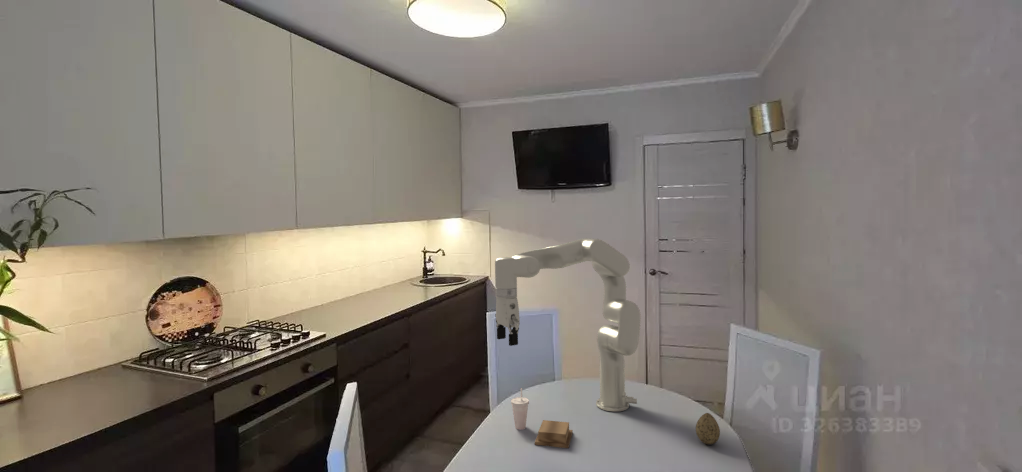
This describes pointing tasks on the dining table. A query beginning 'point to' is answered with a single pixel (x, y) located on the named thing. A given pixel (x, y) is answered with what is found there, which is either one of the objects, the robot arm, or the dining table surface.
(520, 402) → the smoothie
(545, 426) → the pedestal
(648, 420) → the dining table surface
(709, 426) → the decorative egg
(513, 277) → the robot arm
